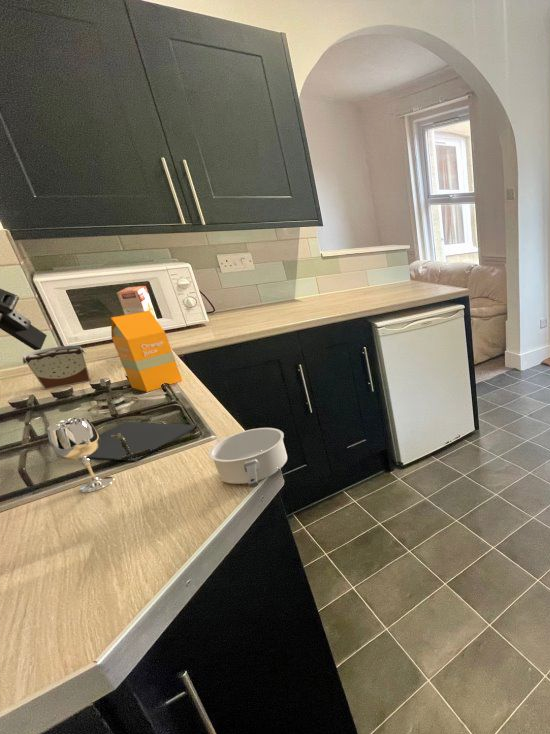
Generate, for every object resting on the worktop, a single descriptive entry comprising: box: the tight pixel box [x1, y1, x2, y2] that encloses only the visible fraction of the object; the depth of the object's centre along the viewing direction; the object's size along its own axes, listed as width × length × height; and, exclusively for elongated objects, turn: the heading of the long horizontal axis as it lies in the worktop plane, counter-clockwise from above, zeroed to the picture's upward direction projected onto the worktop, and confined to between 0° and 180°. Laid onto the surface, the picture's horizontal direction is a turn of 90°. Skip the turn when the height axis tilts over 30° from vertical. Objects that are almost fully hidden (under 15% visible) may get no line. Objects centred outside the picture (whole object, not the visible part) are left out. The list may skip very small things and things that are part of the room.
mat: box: [57, 421, 198, 462], centre depth 87 cm, size 18×14×1 cm
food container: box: [22, 345, 92, 391], centre depth 118 cm, size 12×6×10 cm, turn 130°
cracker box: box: [116, 285, 159, 323], centre depth 149 cm, size 14×6×21 cm, turn 30°
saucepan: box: [208, 427, 288, 488], centre depth 71 cm, size 12×20×6 cm, turn 33°
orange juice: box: [110, 310, 183, 393], centre depth 113 cm, size 8×9×20 cm
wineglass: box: [46, 416, 115, 493], centre depth 71 cm, size 6×6×12 cm
